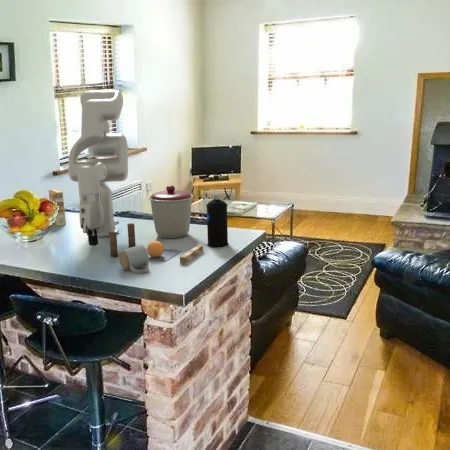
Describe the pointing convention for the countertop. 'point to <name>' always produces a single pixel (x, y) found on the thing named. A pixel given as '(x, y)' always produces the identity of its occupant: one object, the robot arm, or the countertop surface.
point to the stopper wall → (191, 254)
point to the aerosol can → (217, 223)
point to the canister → (171, 212)
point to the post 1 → (113, 244)
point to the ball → (155, 249)
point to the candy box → (58, 198)
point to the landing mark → (165, 255)
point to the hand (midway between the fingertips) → (93, 244)
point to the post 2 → (131, 235)
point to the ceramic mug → (134, 259)
